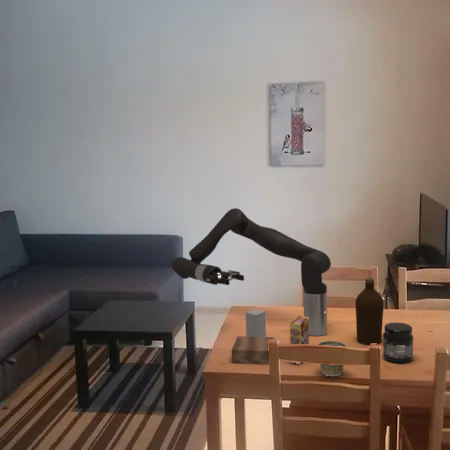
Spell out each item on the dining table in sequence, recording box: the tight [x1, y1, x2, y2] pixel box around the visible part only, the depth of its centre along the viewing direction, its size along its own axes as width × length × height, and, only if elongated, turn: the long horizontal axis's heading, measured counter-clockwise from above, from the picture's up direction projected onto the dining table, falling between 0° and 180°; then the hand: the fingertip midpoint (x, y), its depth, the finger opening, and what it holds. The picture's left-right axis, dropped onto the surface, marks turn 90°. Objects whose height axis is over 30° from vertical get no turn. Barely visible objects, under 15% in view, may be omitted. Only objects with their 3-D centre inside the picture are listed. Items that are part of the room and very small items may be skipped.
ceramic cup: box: [316, 340, 348, 376], centre depth 207 cm, size 13×10×10 cm
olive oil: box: [354, 277, 385, 346], centre depth 236 cm, size 11×11×25 cm
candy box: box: [289, 315, 310, 363], centre depth 220 cm, size 9×4×15 cm, turn 151°
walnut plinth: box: [231, 335, 275, 365], centre depth 226 cm, size 14×14×5 cm
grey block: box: [245, 308, 267, 337], centre depth 241 cm, size 6×6×12 cm
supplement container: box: [382, 322, 414, 364], centre depth 219 cm, size 10×10×12 cm
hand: (236, 280), depth 245 cm, fingers open, 8 cm apart
